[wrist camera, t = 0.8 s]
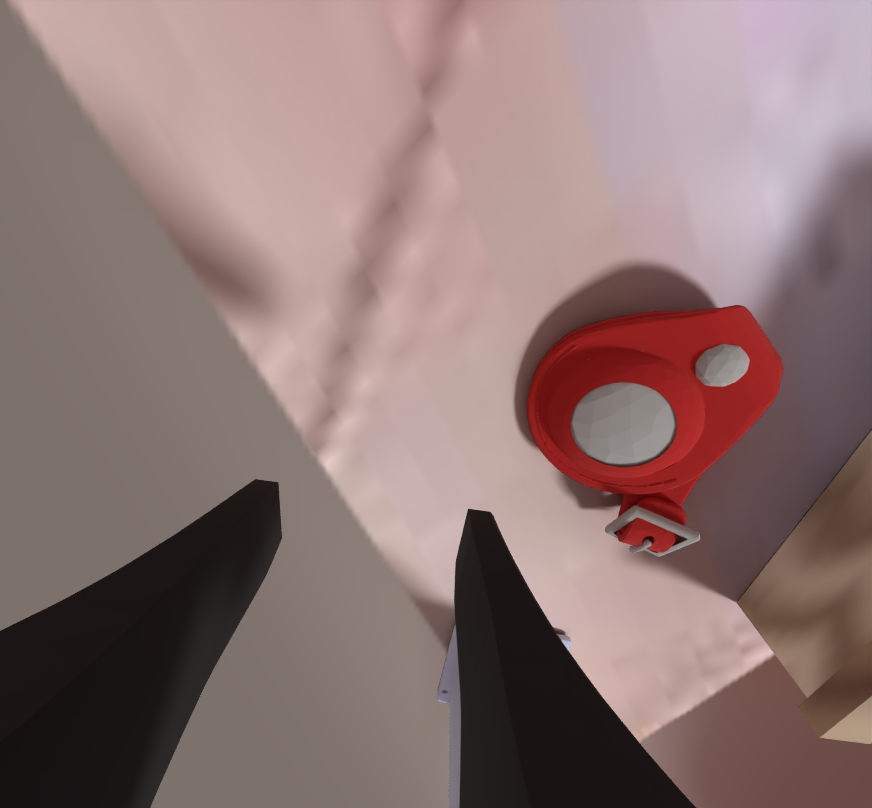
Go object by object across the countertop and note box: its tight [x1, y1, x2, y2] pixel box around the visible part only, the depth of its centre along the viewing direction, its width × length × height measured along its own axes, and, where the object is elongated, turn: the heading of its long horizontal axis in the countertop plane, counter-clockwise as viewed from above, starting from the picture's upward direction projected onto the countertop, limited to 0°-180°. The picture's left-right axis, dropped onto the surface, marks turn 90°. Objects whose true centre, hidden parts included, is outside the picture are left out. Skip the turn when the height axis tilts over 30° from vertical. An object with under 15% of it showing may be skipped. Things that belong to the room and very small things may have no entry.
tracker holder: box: [527, 305, 783, 557], centre depth 16 cm, size 12×4×10 cm
